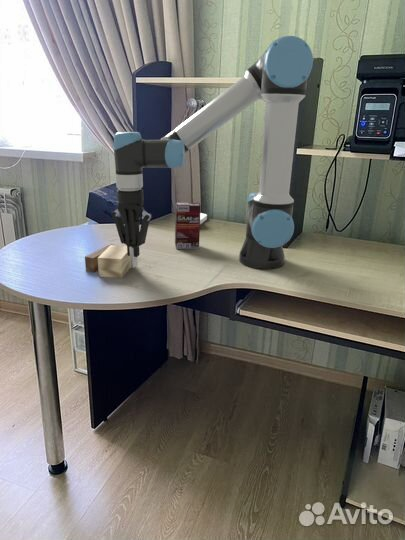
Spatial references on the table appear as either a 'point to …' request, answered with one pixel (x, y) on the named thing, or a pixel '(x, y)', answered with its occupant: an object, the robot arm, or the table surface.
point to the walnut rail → (94, 259)
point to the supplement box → (187, 225)
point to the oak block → (114, 262)
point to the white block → (202, 217)
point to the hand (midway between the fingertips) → (134, 266)
